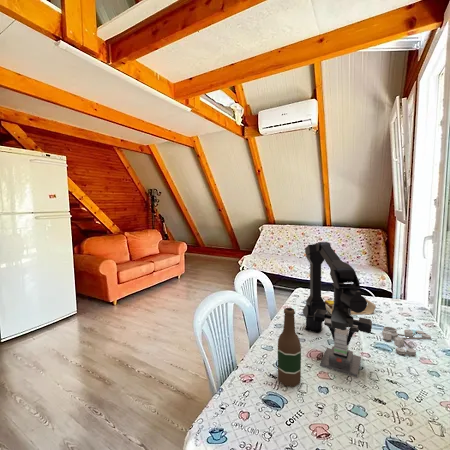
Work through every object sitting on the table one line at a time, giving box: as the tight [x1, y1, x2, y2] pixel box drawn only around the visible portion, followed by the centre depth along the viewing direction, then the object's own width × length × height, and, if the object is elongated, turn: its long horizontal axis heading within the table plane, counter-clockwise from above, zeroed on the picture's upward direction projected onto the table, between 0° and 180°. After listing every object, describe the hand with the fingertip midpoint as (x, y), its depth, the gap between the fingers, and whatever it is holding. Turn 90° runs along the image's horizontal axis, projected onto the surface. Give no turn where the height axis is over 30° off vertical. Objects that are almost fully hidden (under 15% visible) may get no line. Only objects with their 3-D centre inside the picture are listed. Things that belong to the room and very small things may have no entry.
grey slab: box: [333, 328, 349, 356], centre depth 95 cm, size 4×6×8 cm
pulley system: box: [382, 326, 432, 356], centre depth 111 cm, size 27×5×15 cm
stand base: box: [319, 345, 362, 378], centre depth 95 cm, size 12×12×4 cm
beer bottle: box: [277, 307, 302, 388], centre depth 86 cm, size 8×8×24 cm
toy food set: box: [324, 297, 377, 316], centre depth 145 cm, size 25×18×8 cm
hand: (341, 342), depth 95 cm, fingers closed on grey slab, 4 cm apart
